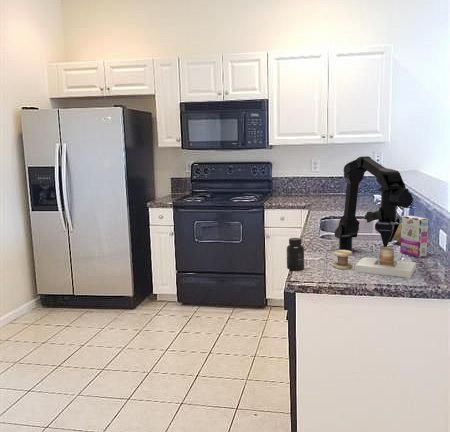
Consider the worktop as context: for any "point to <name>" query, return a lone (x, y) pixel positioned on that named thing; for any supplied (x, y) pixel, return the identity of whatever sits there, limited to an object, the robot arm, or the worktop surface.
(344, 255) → the bobbin
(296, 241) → the supplement bottle
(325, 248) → the worktop surface
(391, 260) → the copper spool
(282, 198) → the worktop surface
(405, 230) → the candy bar box
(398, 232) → the natural sponge
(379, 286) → the worktop surface
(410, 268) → the notched board
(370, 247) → the worktop surface
